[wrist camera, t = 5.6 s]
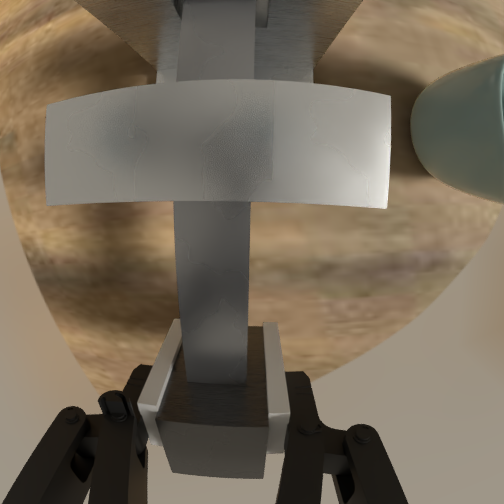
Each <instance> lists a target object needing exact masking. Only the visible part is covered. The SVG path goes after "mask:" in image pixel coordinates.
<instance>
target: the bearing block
mask: <svg viewBox="0 0 504 504" xmlns="http://www.w3.org/2000/svg"><path fill="white" fill-rule="evenodd" d="M74 1H76V2H77V3H78V4H80V5H81V6H82V7H83V8H85V9H86V10H87V11H88V12H90V13H91V14H92V15H93V16H95V17H96V18H97V19H98V20H100V21H101V22H102V23H103V24H104V25H106V26H107V27H108V28H109V29H110V30H112V31H113V32H114V33H115V34H116V35H118V36H119V37H120V38H121V39H122V40H123V41H125V42H126V43H127V44H128V45H129V46H130V47H131V48H133V49H134V50H135V51H136V52H137V53H138V54H139V55H141V56H142V57H143V58H144V59H145V60H146V61H147V62H148V63H149V64H151V65H152V66H153V67H154V68H155V69H156V70H157V79H156V84H149V85H141V86H134V87H127V88H121V89H115V90H109V91H104V92H99V93H94V94H89V95H84V96H80V97H75V98H71V99H67V100H63V101H60V102H56V103H52V104H49V105H47V111H46V126H45V188H46V204H47V206H52V205H68V204H86V203H109V202H142V201H248V202H282V203H306V204H326V205H343V206H358V207H372V208H384V209H387V200H388V188H389V173H390V151H391V96H389V95H385V94H380V93H375V92H370V91H364V90H358V89H352V88H346V87H339V86H332V85H324V84H315V83H313V69H314V68H315V66H316V65H317V64H318V62H319V61H320V59H321V58H322V56H323V55H324V54H325V52H326V51H327V49H328V48H329V46H330V45H331V44H332V42H333V41H334V39H335V38H336V37H337V35H338V34H339V32H340V31H341V30H342V28H343V27H344V25H345V24H346V23H347V21H348V20H349V19H350V17H351V16H352V15H353V13H354V12H355V11H356V9H357V8H358V6H359V5H360V4H361V2H362V1H363V0H256V18H255V53H254V79H217V80H193V81H179V82H176V76H177V62H178V51H179V40H180V30H181V21H182V13H183V5H184V0H74Z"/></svg>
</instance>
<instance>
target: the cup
mask: <svg viewBox="0 0 504 504" xmlns="http://www.w3.org/2000/svg"><path fill="white" fill-rule="evenodd" d="M410 132H411V139H412V143H413V147H414V150H415V152H416V155H417V157H418V159H419V161H420V162H421V164H422V166H423V167H424V169H425V170H426V171H427V172H428V173H429V174H430V175H432V176H433V177H434V178H435V179H437V180H438V181H440V182H441V183H443V184H445V185H446V186H448V187H451V188H453V189H455V190H458V191H460V192H463V193H466V194H468V195H471V196H474V197H477V198H481V199H484V200H487V201H491V202H495V203H498V204H502V205H504V54H502V55H498V56H494V57H491V58H487V59H484V60H481V61H478V62H475V63H472V64H469V65H467V66H464V67H461V68H459V69H456V70H454V71H451V72H449V73H447V74H445V75H443V76H441V77H439V78H437V79H436V80H434V81H433V82H431V83H430V84H429V85H428V86H426V87H425V88H424V89H423V90H422V91H421V92H420V94H419V95H418V97H417V98H416V100H415V102H414V104H413V108H412V111H411V119H410Z"/></svg>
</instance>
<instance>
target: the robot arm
mask: <svg viewBox="0 0 504 504" xmlns="http://www.w3.org/2000/svg"><path fill="white" fill-rule="evenodd" d="M263 338H264V354H265V370H266V387H267V404H268V419H269V432H268V442H267V451H266V454H273V453H283V452H285V458H284V463H283V468H282V474H281V479H280V484H279V489H278V494H277V498H276V503H275V504H320V502H321V492H322V480H323V473H327V474H332V478H333V482H334V486H335V490H336V494H337V497H338V501H339V504H408V502H407V500H406V497H405V495H404V492H403V490H402V487H401V485H400V483H399V480H398V478H397V476H396V473H395V471H394V469H393V466H392V464H391V461H390V459H389V457H388V455H387V452H386V450H385V448H384V446H383V443H382V441H381V439H380V437H379V434H378V433H377V431H376V430H375V429H374V428H373V427H371V426H369V425H365V424H357V425H354V426H351V427H350V428H349V429H348V430H347V431H345V430H338V429H333V428H330V427H328V426H326V425H324V424H323V423H322V421H320V419H319V416H318V413H317V408H316V404H315V400H314V396H313V391H312V388H311V383H310V379H309V377H308V376H307V375H306V374H305V373H304V372H303V371H299V372H285V371H284V364H283V357H282V350H281V343H280V336H279V330H278V323H277V322H263ZM181 343H182V333H181V323H180V319H174V320H173V323H172V325H171V327H170V329H169V331H168V333H167V336H166V338H165V340H164V342H163V344H162V347H161V349H160V351H159V353H158V356H157V358H156V360H155V362H154V365H153V366H150V365H142V364H140V365H139V366H138V367H137V368H135V369H134V370H133V372H132V374H131V376H130V379H129V380H128V382H127V385H125V387H124V389H123V392H122V391H118V390H112V391H108V392H105V393H104V394H102V395H101V396H100V397H99V399H98V402H99V405H100V407H101V410H102V412H103V414H95V415H86V414H85V412H84V411H83V410H82V409H81V408H79V407H75V406H71V407H66V408H64V409H63V410H61V412H59V414H58V415H57V417H56V418H55V420H54V421H53V423H52V424H51V426H50V427H49V429H48V430H47V432H46V433H45V435H44V436H43V438H42V439H41V441H40V442H39V444H38V445H37V447H36V449H35V450H34V451H33V453H32V455H31V456H30V458H29V459H28V461H27V462H26V464H25V466H24V467H23V469H22V471H21V472H20V474H19V476H18V477H17V479H16V481H15V482H14V484H13V486H12V487H11V489H10V491H9V492H8V494H7V496H6V498H5V499H4V501H3V503H2V504H83V502H84V500H85V497H86V495H87V493H88V491H89V489H90V494H89V502H88V504H147V472H148V450H147V447H146V444H147V441H148V438H149V440H150V443H151V444H152V445H158V446H163V444H162V441H161V438H160V434H159V431H158V428H157V424H156V421H155V418H156V415H157V412H158V409H159V406H160V404H161V401H162V398H163V395H164V392H165V389H166V386H167V383H168V380H169V377H170V374H171V372H172V369H173V366H174V363H175V360H176V357H177V355H178V352H179V349H180V346H181Z"/></svg>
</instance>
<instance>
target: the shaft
mask: <svg viewBox="0 0 504 504" xmlns="http://www.w3.org/2000/svg"><path fill="white" fill-rule="evenodd" d="M255 18H256V0H184V5H183V13H182V21H181V30H180V40H179V51H178V62H177V76H176V82H179V81H193V80H217V79H254V53H255ZM250 209H251V202H248V201H174V234H175V256H176V273H177V288H178V300H179V312H180V323H181V333H182V343H181V346H180V349H179V352H178V355H177V357H176V360H175V363H174V366H173V369H172V372H171V374H170V377H169V380H168V383H167V386H166V389H165V392H164V395H163V398H162V401H161V404H160V406H159V409H158V412H157V415H156V418H155V421H156V424H157V428H158V431H159V434H160V438H161V441H162V444H163V447H164V450H165V453H166V456H167V459H168V461H169V464H170V467H171V470H172V472H173V473H180V474H188V475H197V476H209V477H221V478H243V479H263V476H264V468H265V459H266V451H267V442H268V432H269V419H268V404H267V387H266V370H265V354H264V338H263V327H259V326H248V295H249V251H250Z"/></svg>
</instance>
